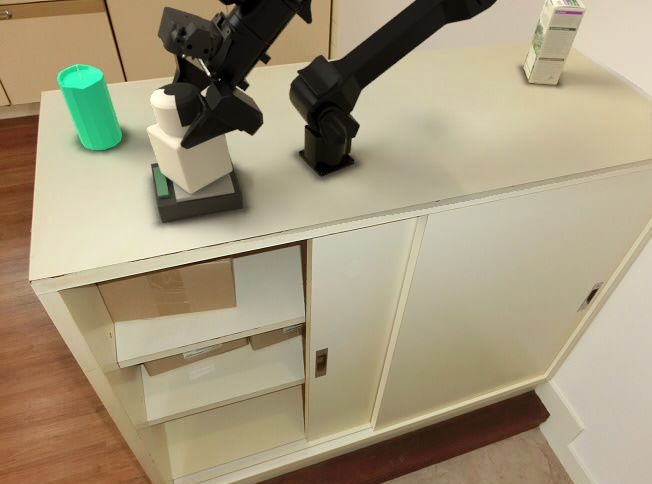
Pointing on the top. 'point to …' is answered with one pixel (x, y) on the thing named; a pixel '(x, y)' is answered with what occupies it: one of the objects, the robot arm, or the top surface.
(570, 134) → the top surface
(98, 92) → the candle
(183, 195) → the scale
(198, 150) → the medicine bottle
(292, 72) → the top surface
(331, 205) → the top surface
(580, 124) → the top surface
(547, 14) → the syrup box
